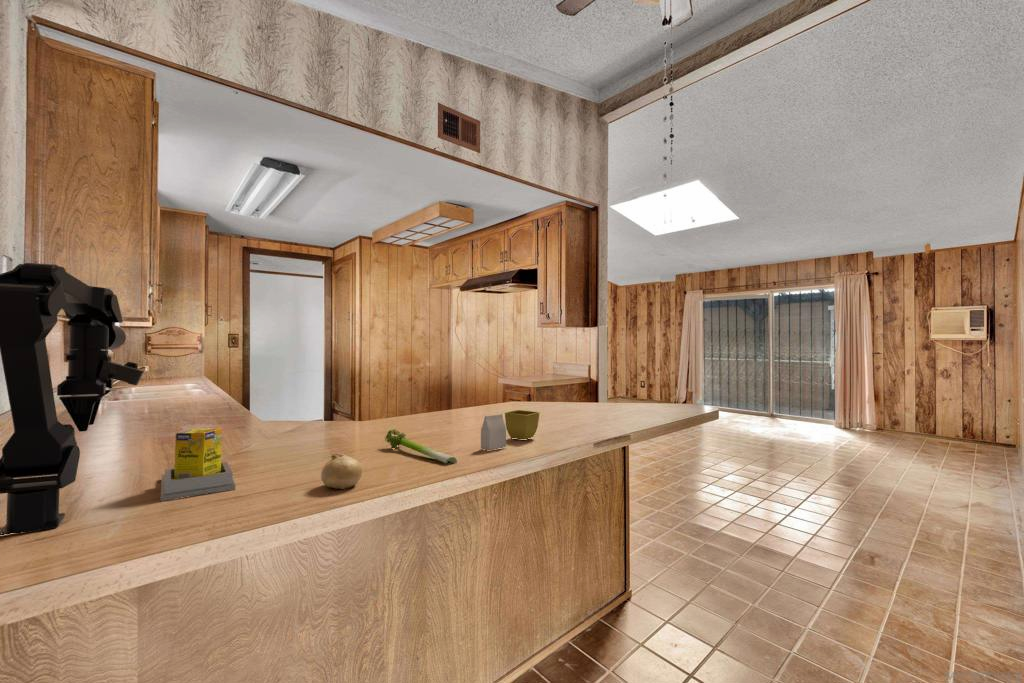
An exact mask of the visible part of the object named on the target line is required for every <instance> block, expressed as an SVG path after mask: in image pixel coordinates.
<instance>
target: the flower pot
mask: <svg viewBox="0 0 1024 683" xmlns="http://www.w3.org/2000/svg"><path fill="white" fill-rule="evenodd" d="M540 413H541V412H539V411H532V410H522V409H516V410H511V411H506V412H504V420H505V421H504V422H505V427H506V432H507V433H508V436H509V437H510V438H517V439H528V438H531V437H534V436H535V434H536V432H537V430H538V426H539V420H540Z"/></svg>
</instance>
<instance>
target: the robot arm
mask: <svg viewBox="0 0 1024 683" xmlns="http://www.w3.org/2000/svg"><path fill="white" fill-rule="evenodd" d="M120 308H121V307H120V303H119V299H118V296H117V294H114V292H113V290H111V289H110V288H107V287H101V286H100V287H99V286H91V285H89V284H86V283H85V282H83V281H82V280H81V279H78V278H77V277H75V276H74V275H72V274H70V273H68V271H66V269H65V268H64V267H63V266H59V265H58V264H52V263H39V262H38V263H37V262H25V263H19V264H17V265H16V266H15V267H14V268H13V269H11V270H9V271H6V272H3V273H0V357H1V363H2V368H3V374H4V379H5V380H4V381H5V385H6V390H7V396H8V402H9V408H10V413H11V414H10V415H11V418H12V425H13V430H14V431H13V433H12V435H11V436H10V437H9V438H8V440H7V441H6V443H5V444H4V446H3V447H2V449H1V457H0V495H1V494H6V495H7V496H6V518H5V520H6V521H5V522H6V523H5V525H4V526H3V527H2V528H1V529H0V535H4V534H10V533H20V534H22V533H21V532H26V533H31V532H30V531H32V532H36V531H37V532H38V531H42V530H43V531H45V530H49V529H54V528H58V527H59V526H60V525H61V523H62V521H64V518H65V517H66V513H65V512H61V513H60V490H61V489H63V488H65V487H67V486H69V485H71V484H73V483H74V482H76V478H77V473H78V467H79V464H80V463H79V461H80V456H81V450H80V447H79V446H78V443H77V441H76V436H75V434H76V432H75V427H76V428H77V430H78V432H87V431H88V429H89V426H92V425H94V424H95V421H96V418H97V414H98V411H99V408H100V404H101V402H102V399H103V398H104V397H106V395H108V394H109V393H110V392H112V389H113V388H114V380H115V381H120V382H125V383H127V384H129V385H133V386H137V385H138V384H139V382H140V380H141V378H142V376H143V374H144V372H145V370H143V369H140V368H139V367H138V363H137V362H132V361H128V362H126V363H125V364H121V363H116V362H113V361H112V356H111V355H110V354H109V351H112V350H116V349H119V348H120V347H122V346H123V345H124V344H125V343H126V340H127V335H126V332H125V331H124V330H123V329H122V327H120V326H119V325H116V323H117V324H118V323H120V324H121V323H123V321H124V320H123V317H122V312H121V309H120ZM61 310H63V312H64V314H65V316H66V318H68V319H69V320H68V321H67V322H66V324H67V326H68V327H69V333H68V334H69V335H68V354H67V355H66V359H65V360H66V361H68V368H67V375H66V376H65V379H64V380H63V381H62V382H60V383H59V384H57V387H56V388H57V389H56V392H57V393H56V394H57V397H59V401H61V403H62V405H63V406H64V408H65V410H67V413H68V415H69V416H70V418H71V419H72V421H73V423H74V425H75V427H74V426H73V425H72V424H71V423H70V424H69V423H68V424H63V423H61V422H60V421H59V420H58V416H57V410H56V404H55V403H56V402H55V395H54V389H53V388H54V387H53V382H52V376H51V368H50V367H51V366H50V362H49V356H48V355H49V354H48V348H47V341H46V340H47V336H48V335H49V334H50V333H51V331H52V330H53V328H54V327H55V326H56V324H57V323H58V314H59V313H60V312H61ZM1 533H2V534H1Z"/></svg>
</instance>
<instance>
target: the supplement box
mask: <svg viewBox="0 0 1024 683" xmlns="http://www.w3.org/2000/svg"><path fill="white" fill-rule="evenodd" d="M222 438H223V428H222V427H221V428H219V427H214V428H212V427H211V428H207V427H203V428H202V427H200V428H199V427H195V428H193V429H189V430H184V431H179V432H176V433H175V440H174V441H175V449H174V450H175V451H174V468H175V471H174V479H179V478H186V477H193V476H201V475H208V474H215V473H221V462H222V448H223V447H222V446H223V444H222V441H223V439H222Z"/></svg>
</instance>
